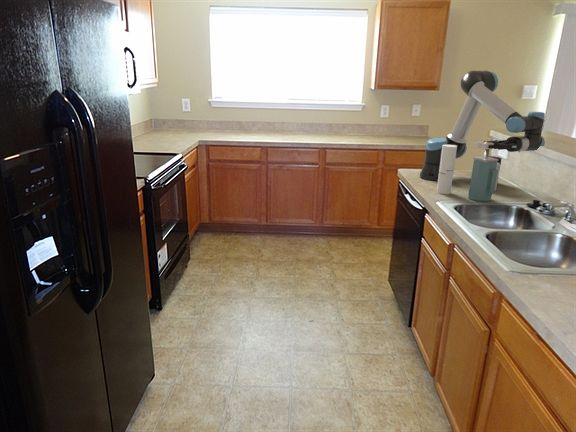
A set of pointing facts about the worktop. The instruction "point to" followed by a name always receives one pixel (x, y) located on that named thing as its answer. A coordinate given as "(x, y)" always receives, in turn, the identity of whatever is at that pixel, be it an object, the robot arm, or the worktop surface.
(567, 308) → the worktop surface
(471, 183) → the press pot
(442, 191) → the cylindrical container
